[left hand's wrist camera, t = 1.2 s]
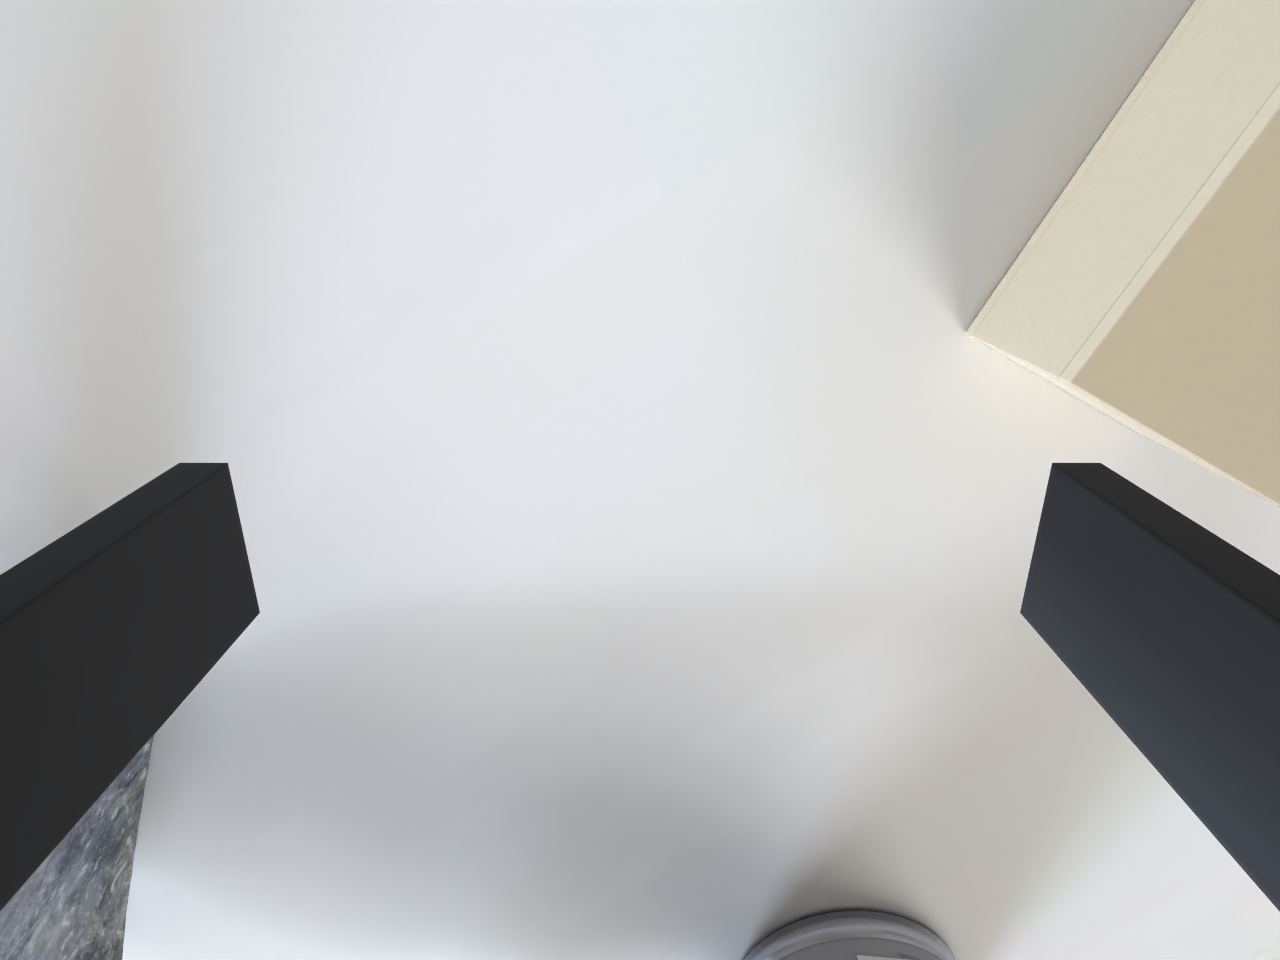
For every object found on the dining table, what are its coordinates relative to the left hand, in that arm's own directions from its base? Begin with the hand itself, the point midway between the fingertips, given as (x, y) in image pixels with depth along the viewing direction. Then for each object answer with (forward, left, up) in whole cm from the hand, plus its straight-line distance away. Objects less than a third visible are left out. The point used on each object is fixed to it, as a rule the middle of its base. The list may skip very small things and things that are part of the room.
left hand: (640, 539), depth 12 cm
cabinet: (0, -24, -24) cm, 34 cm away
